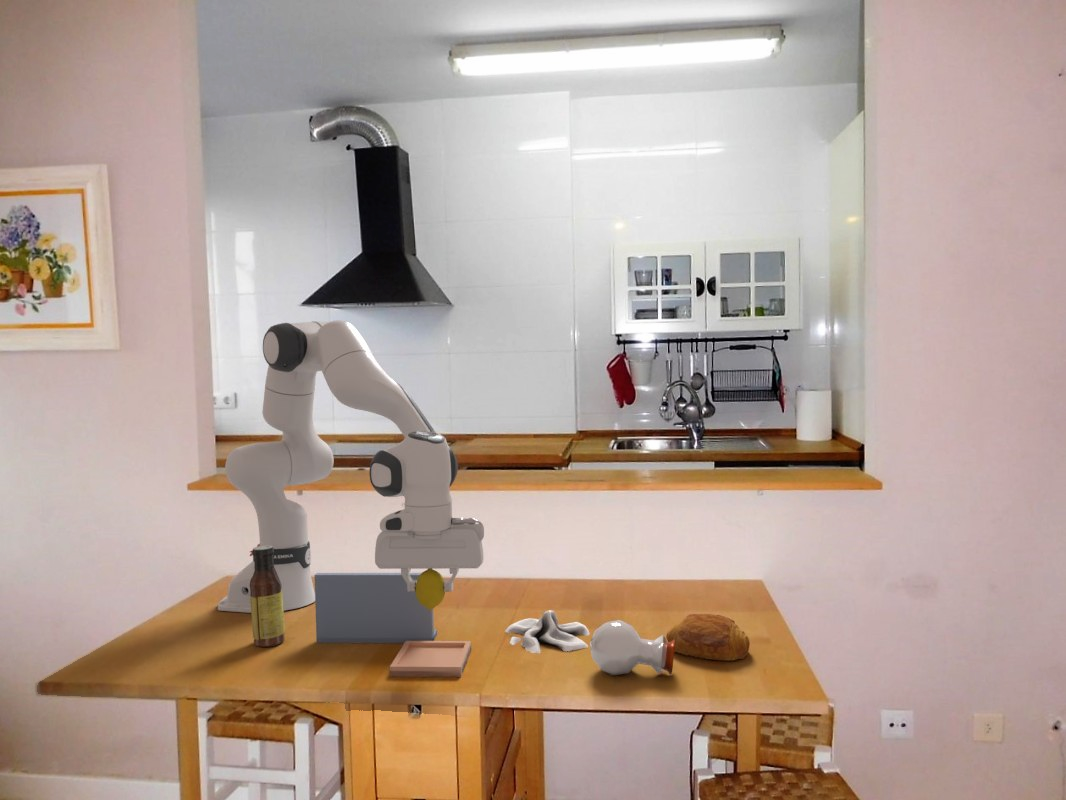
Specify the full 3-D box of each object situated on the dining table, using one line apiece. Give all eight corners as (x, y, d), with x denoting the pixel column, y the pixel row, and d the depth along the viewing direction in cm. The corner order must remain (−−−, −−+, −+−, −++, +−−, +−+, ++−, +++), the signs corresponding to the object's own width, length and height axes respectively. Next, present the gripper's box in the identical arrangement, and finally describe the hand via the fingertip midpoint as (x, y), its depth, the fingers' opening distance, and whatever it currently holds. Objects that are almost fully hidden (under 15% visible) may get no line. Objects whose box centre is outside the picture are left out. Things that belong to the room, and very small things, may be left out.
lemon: (440, 615, 141) (439, 572, 141) (411, 613, 142) (410, 571, 142) (449, 606, 146) (448, 565, 146) (422, 605, 147) (421, 564, 147)
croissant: (737, 681, 139) (742, 639, 138) (657, 654, 147) (661, 615, 146) (757, 653, 151) (763, 614, 150) (683, 629, 159) (687, 593, 158)
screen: (316, 642, 156) (314, 575, 156) (324, 634, 161) (322, 568, 161) (432, 643, 155) (430, 574, 154) (437, 634, 160) (435, 568, 159)
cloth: (508, 622, 168) (507, 595, 168) (592, 624, 166) (592, 596, 166) (492, 661, 146) (491, 630, 146) (589, 664, 144) (589, 631, 144)
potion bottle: (586, 675, 141) (669, 689, 138) (585, 661, 133) (672, 676, 130) (594, 625, 146) (673, 638, 143) (593, 609, 137) (677, 623, 135)
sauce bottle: (291, 639, 159) (288, 544, 158) (272, 649, 153) (268, 551, 152) (265, 636, 161) (262, 542, 160) (245, 646, 155) (241, 549, 154)
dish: (390, 676, 138) (389, 666, 138) (406, 649, 151) (406, 640, 151) (461, 676, 138) (460, 667, 138) (471, 650, 151) (471, 641, 151)
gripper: (485, 514, 146) (487, 586, 146) (380, 515, 147) (382, 586, 148) (481, 521, 140) (483, 596, 140) (371, 522, 141) (373, 595, 141)
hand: (430, 590), depth 144 cm, fingers closed on lemon, 6 cm apart
